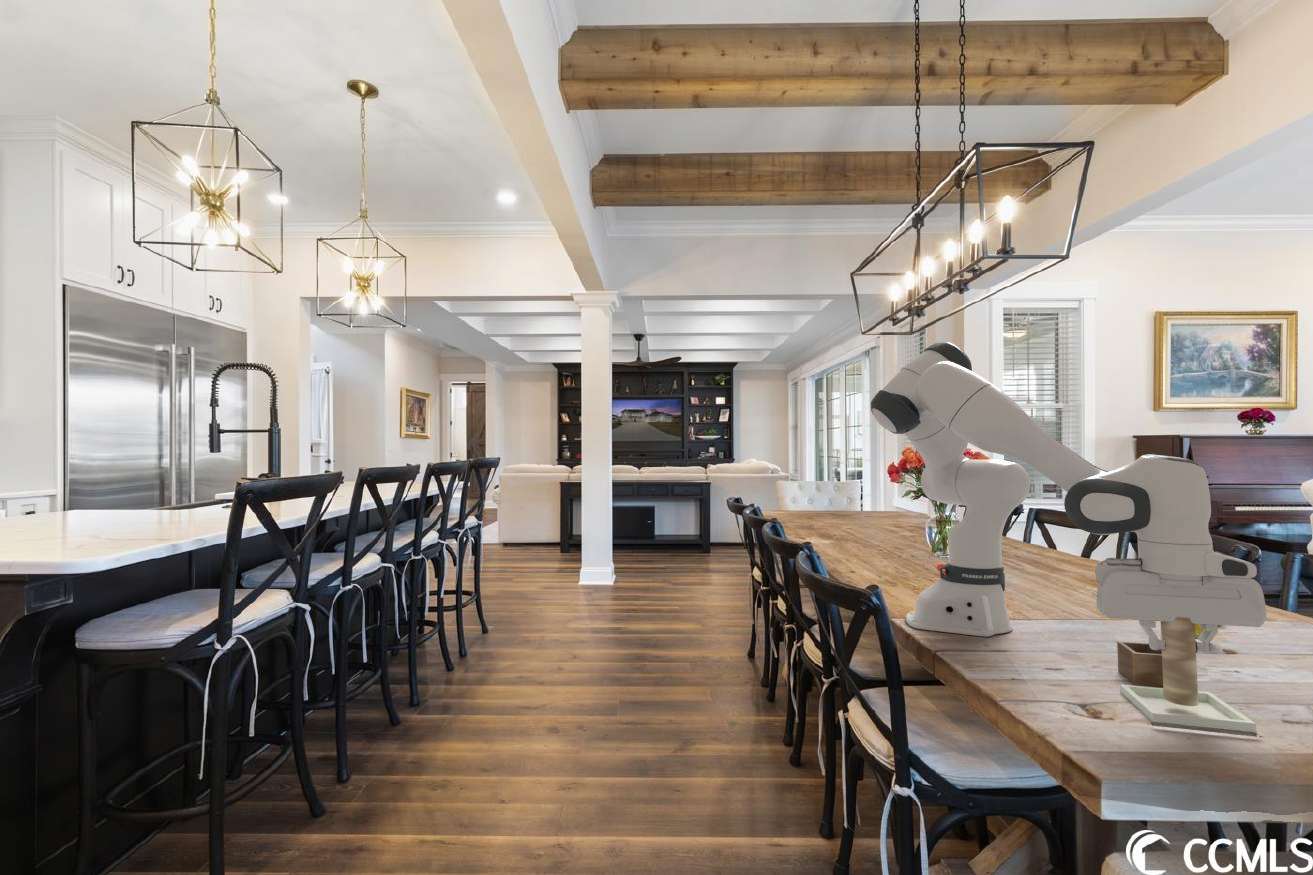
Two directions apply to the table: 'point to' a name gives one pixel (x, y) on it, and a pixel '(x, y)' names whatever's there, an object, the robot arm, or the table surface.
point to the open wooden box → (1140, 664)
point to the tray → (1188, 711)
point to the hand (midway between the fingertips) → (1178, 651)
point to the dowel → (1179, 662)
